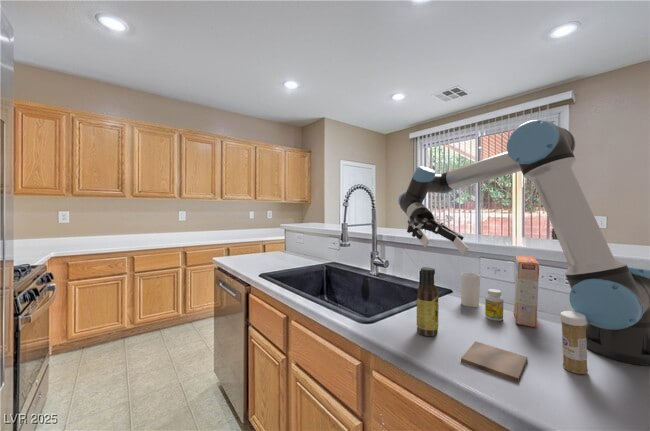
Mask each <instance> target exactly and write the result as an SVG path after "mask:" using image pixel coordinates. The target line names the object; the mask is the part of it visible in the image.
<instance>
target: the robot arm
mask: <svg viewBox="0 0 650 431" xmlns="http://www.w3.org/2000/svg"><path fill="white" fill-rule="evenodd" d="M575 149H576V141H575V137H574V135H573V134H572V133H571V132H570V131H569V130H567V129H566V128H563V127H561V126H558V125H556V124H555V123H553V122H552V121H549V120H544V119H543V120H542V119H535V120H529V121H526V122H524V123H522V124H520V125H519V126H518V127H516V128H515V129H514V130H513V131H512V133H511V134H510V135H509V138H508V139H507V143H506V152H502V153H499V154H496V155H493V156H490V157H487V158H484V159H481V160H478V161H475V162H473V163H469V164H467V165H464V166H461V167H458V168H457V167H456V168H455V169H451V170H448V171H446V172H443V173H436V171H435V170H434V169H432V168H429V167H426V166H422V165H420V166H417V167H416V169H415V171H414V173H413V174H412V177H411V180H410V182H409V185H408V187H407V190H406V191H405V192H403V193H401V194H400V195H399V197H398V205H399V207H400V209H401V210H402V211H403V212H404V213H405V215H406V216H407V217H408V219H407V223H408V225H407V226H408V227H407V229H406V232H407V234H408V233H409V234H411V236H412V237H413V238H417V239H418V241H420V243H421V244H422V246H423V247H424V248H427V247H428V245H429V244H430V242H431V239H430V238H429V236H428V235H427V234H426V232H424V230H425V231H429V232H432V233H433V234H435V235H440V236H441V237H443V238H445V239H446V240H448V241H450V242H452V244H453V245H454V246H455V248H456V249H457V250H458V251H459V253H460V254H462V255H464V256H465V255H466V254H467V252H468V250H469V246H468V245H467V244H466V243H464V242H463V239H464V238H465V237H464V236H463V235H461V234H460V233H458V232H457V231H455V230H454V229H452V228H451V227H449V226H447V224H445V223H444V222H440V223H438V222H437V221H436V220H435V217H434V214H433V213H432V211H430V209H428V207H427V206H426V205H425V204H424V203H423V202H424V200H425V199H426V196H427V194H428V193H434V194H435V193H437V194H447V193H451V192H452V191H453V190H456V189H460V188H463V187H468V186H471V185H475V184H478V183H482V182H485V181H489V180H493V179H495V178H496V179H497V178H500V177H504V176H508V175H512V174H515V173H519V172H521V173H522V175H523V177H524V179H527V180H530V181H532V182H533V185H534V187H535V190H536V192H537V194H538V196H539V198H540V201H541V203H542V206H543V208H544V211H545V213H546V215H547V217H548V220H549V222H550V223H551V226H552V229H553V231H554V233H555V236H556V239H557V240H558V243H559V245H560V247H561V250H562V251H563V254H564V256H565V258H566V261H567V263H568V268H567V269H566V270H565V272H564V275H565V278H566V280H567V282H568V285H569V286H570V291H569V303H570V306H571V308H572V310H573V311H574V312H578V313H581V314H583V315H585V316H586V327H585V329H586V343H587V350H590V351H592V352H594V353H596V354H599V355H600V356H604V357H605V358H609V359H613V360H616V361H619V362H623V363H628V364H633V365H638V366H647V367H649V366H650V269H648V268H644V267H643V268H642V267H634V266H628V265H627V263H626V262H624V261H621V260H619V259H618V258H616V257H614V255H613V253H612V251H611V248H610V246H609V245H608V243H607V240H606V238H605V236H604V233H603V231H602V230H601V227H600V225H599V224H598V221H597V219H596V217H595V215H594V212H593V210H592V209H591V206H590V205H589V204H590V203H588V200H587V198H586V196H585V193H584V192H583V190H582V186H581V185H580V183H579V181H578V179H577V177H576V174H575V173H574V170H573V165H574V163H575V162H576V160H577V159H576V157H575V155H574V151H575Z"/></svg>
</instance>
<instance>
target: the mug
mask: <svg viewBox="0 0 650 431" xmlns="http://www.w3.org/2000/svg"><path fill="white" fill-rule="evenodd" d="M480 287H481V274H479V273H475V272H470V271H469V272H467V271H466V272H461V273H460V303H461V305H462V306H465V307H468V308H478V307H480V290H481V289H480Z"/></svg>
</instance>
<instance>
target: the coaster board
mask: <svg viewBox="0 0 650 431" xmlns="http://www.w3.org/2000/svg"><path fill="white" fill-rule="evenodd" d="M460 363H463V364H465V365H468V366H471V367H473V368H477V369H480V370H481V371H484V372H488V373H490V374H493V375H496V376H498V377H502V378H504V379H507V380H509V381H512V382H515V383H519V382H520V380H521V377H522V375H523V372H524V370H525V367H526V366H527V363H528V356H526V355H525V356H524V355H522V354H520V353H519V354H518V353H516V352H512V351H509V350H506V349H502V348H498V347H497V346H493V345H489V344H486V343H483V342H479V341H474V342H473V343H472V345H471V346H470V347H469V348H468V349H467V351H465V353H464V354H463V355H462V356H461V358H460Z"/></svg>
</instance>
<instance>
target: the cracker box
mask: <svg viewBox="0 0 650 431" xmlns="http://www.w3.org/2000/svg"><path fill="white" fill-rule="evenodd" d="M514 270H515V274H514V296H513V297H514V298H513V299H514V302H513V313H514V320H515V324H516V325H521V326H526V327H529V328H537V326H538V325H537V323H538V322H537V321H538V320H537V319H538V301H539V299H538V298H539V297H538V296H539V275H540V274H539V273H540V263H539V262H538V260H537V259H536V258H535V257H534V256H528V255H516V256H515V269H514Z"/></svg>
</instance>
